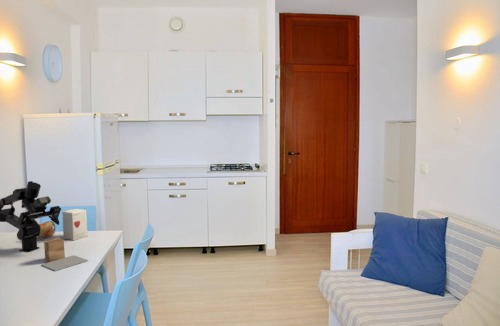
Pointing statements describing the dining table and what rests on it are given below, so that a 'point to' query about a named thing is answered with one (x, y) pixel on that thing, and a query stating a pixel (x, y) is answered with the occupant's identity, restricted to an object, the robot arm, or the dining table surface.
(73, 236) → the supplement box
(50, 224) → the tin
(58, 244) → the walnut block
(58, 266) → the mat
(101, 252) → the dining table surface
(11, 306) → the dining table surface
